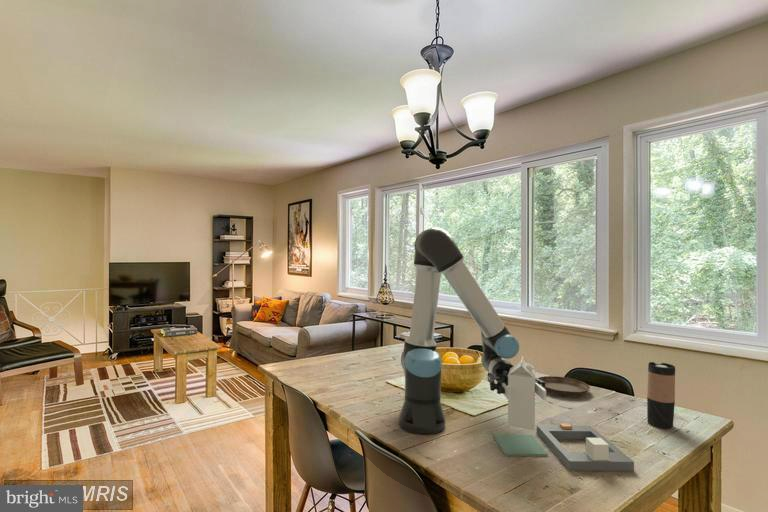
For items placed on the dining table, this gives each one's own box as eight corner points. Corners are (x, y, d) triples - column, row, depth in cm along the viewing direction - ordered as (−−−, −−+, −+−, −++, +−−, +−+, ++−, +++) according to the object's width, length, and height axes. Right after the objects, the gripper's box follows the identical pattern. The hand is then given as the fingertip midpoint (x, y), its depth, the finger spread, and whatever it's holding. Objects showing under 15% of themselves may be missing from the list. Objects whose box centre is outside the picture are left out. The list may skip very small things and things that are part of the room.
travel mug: (665, 431, 132) (667, 369, 132) (641, 422, 139) (643, 363, 138) (678, 426, 135) (680, 366, 135) (654, 418, 142) (656, 360, 142)
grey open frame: (569, 470, 107) (569, 445, 107) (536, 433, 129) (537, 411, 129) (633, 471, 107) (634, 445, 107) (590, 433, 129) (590, 412, 129)
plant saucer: (544, 379, 184) (545, 372, 184) (595, 390, 171) (595, 382, 171) (528, 391, 168) (528, 383, 168) (582, 404, 155) (582, 395, 155)
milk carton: (507, 426, 118) (508, 361, 118) (510, 417, 125) (510, 355, 124) (533, 430, 115) (534, 363, 115) (534, 420, 122) (535, 357, 122)
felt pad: (505, 455, 114) (505, 453, 114) (492, 436, 126) (493, 434, 126) (547, 456, 114) (547, 454, 114) (531, 436, 126) (531, 434, 126)
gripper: (535, 382, 138) (565, 408, 116) (470, 382, 138) (488, 408, 115) (535, 360, 138) (566, 381, 116) (470, 360, 138) (488, 382, 115)
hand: (527, 395), depth 115 cm, fingers closed on milk carton, 9 cm apart
